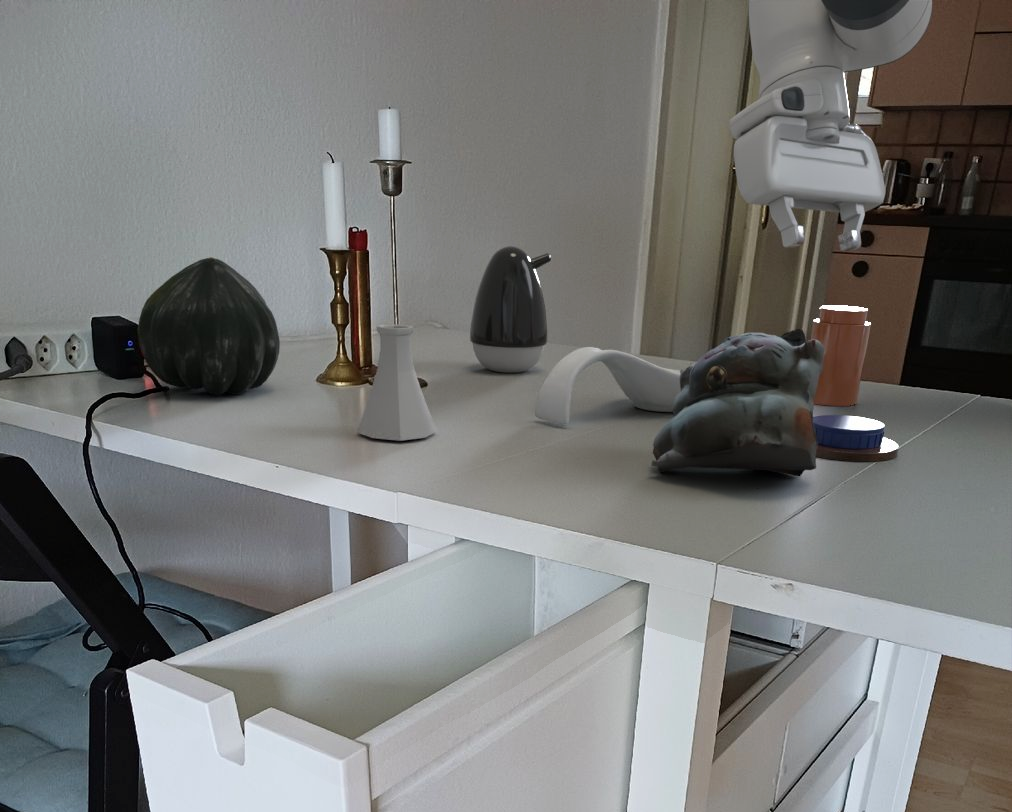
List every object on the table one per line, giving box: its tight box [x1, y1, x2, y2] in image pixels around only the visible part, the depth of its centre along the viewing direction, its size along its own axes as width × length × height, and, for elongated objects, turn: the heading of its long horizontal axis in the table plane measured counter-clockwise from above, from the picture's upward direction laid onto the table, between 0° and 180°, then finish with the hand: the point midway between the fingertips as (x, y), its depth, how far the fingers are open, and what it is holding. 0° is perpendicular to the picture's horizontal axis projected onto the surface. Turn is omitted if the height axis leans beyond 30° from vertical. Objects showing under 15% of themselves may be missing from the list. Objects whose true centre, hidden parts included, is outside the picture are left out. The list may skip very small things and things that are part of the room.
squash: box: [137, 257, 281, 396], centre depth 113 cm, size 14×15×15 cm
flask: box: [356, 323, 437, 442], centre depth 96 cm, size 7×7×10 cm
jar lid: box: [813, 414, 885, 449], centre depth 97 cm, size 7×7×2 cm
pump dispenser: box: [469, 245, 552, 374], centre depth 132 cm, size 10×10×15 cm
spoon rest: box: [534, 346, 681, 425], centre depth 109 cm, size 24×12×7 cm, turn 131°
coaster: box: [815, 437, 899, 463], centre depth 98 cm, size 10×10×1 cm
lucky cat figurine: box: [651, 328, 825, 477], centre depth 87 cm, size 15×12×14 cm
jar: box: [810, 305, 872, 407], centre depth 119 cm, size 6×6×10 cm
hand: (823, 247), depth 110 cm, fingers open, 8 cm apart
